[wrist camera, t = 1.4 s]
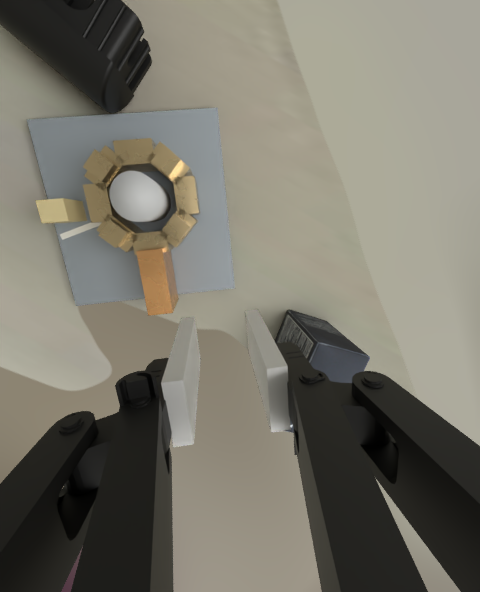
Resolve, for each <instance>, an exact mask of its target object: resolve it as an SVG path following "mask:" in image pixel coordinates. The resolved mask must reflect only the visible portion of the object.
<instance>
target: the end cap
mask: <svg viewBox="0 0 480 592" xmlns="http://www.w3.org/2000/svg"><path fill="white" fill-rule="evenodd" d="M0 24H1V25H2V26H3V27H4V28H5V29H6V30H7V31H9V32H10V33H11V34H12V35H14V36H15V37H16V38H17V39H18V40H20V41H21V42H22V43H23V44H25V45H26V46H27V47H28V48H30V49H31V50H32V51H33V52H34V53H36V54H37V55H38V56H39V57H41V58H42V59H43V60H44V61H46V62H47V63H48V64H49V65H50V66H52V67H53V68H54V69H55V70H57V71H58V72H59V73H60V74H62V75H63V76H64V77H65V78H66V79H68V80H69V81H70V82H71V83H73V84H74V85H75V86H76V87H78V88H79V89H80V90H81V91H82V92H84V93H85V94H86V95H87V96H89V97H90V98H91V99H92V100H94V101H95V102H96V103H97V104H98V105H100V106H101V107H102V108H103V109H105V110H106V111H108V112H111V113H114V112H118V111H120V110H122V109H123V108H124V107H125V106H126V105H127V104H128V103H129V102H130V101H131V99H132V98H133V97H134V95H133V93H134V92H135V90H136V88H137V87H138V85H139V84H140V82H141V80H142V79H143V77H144V76H145V74H146V72H147V71H148V69H149V68H150V66H151V63H152V60H151V56H150V55H149V52H150V47H149V44H148V41H146V40H145V39H144V38H143V40H142V42H141V41H140V38H141V37H142V35H143V33H144V30H143V27H142V24H141V22H140V20H139V18H138V17H137V16H136V14H135V13H134V12H133V11H132V10H131V9H130V8H129V7H128V6H127V5H125V4H124V3H123V2H122V1H121V0H0Z"/></svg>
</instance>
